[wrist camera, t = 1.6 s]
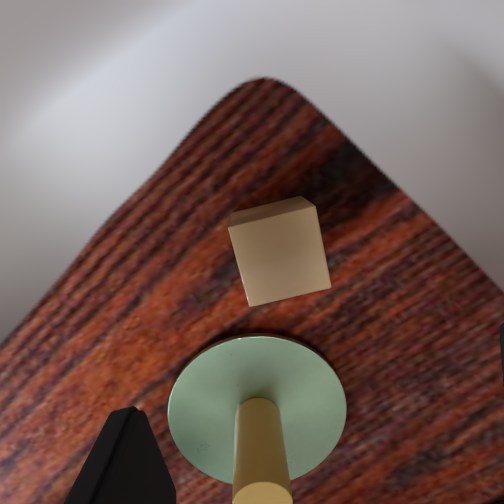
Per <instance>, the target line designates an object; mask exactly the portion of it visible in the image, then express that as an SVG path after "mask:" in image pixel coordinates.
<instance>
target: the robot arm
mask: <svg viewBox="0 0 504 504" xmlns="http://www.w3.org/2000/svg"><path fill="white" fill-rule="evenodd" d="M500 343H501V356H502V370H503V384H504V324H502V325H501V326H500ZM64 504H176V490H175V486H174V484H173V481H172V479H171V476H170V474H169V471H168V469H167V466H166V464H165V461H164V459H163V456H162V454H161V451H160V449H159V446H158V444H157V441H156V439H155V436H154V434H153V431H152V429H151V426H150V424H149V421H148V419H147V416H146V414H145V412H144V411H142V410H141V411H138V409H137V408H136V407H134V406H132V407H128V408H124V409H120V410H116V411H113V412H111V413H110V415H109V417H108V418H107V420H106V422H105V424H104V426H103V428H102V430H101V432H100V434H99V436H98V438H97V440H96V442H95V444H94V446H93V448H92V450H91V452H90V454H89V456H88V457H87V459H86V461H85V463H84V465H83V467H82V469H81V471H80V473H79V475H78V477H77V479H76V481H75V483H74V485H73V487H72V489H71V491H70V493H69V495H68V497H67V498H66V500H65V502H64Z"/></svg>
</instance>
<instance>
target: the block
mask: <svg viewBox="0 0 504 504" xmlns="http://www.w3.org/2000/svg"><path fill="white" fill-rule="evenodd" d="M228 230H229V234H230V237H231V241H232V245H233V248H234V252H235V256H236V260H237V263H238V267H239V271H240V274H241V278H242V282H243V286H244V289H245V293H246V297H247V300H248V304H249V307H252V306H256V305H260V304H265V303H269V302H273V301H277V300H281V299H286V298H290V297H294V296H298V295H303V294H307V293H311V292H315V291H319V290H324V289H328V288H331V282H330V277H329V272H328V267H327V261H326V256H325V251H324V246H323V241H322V236H321V231H320V226H319V221H318V216H317V211H316V206H315V205H313V204H312V203H310V202H309V201H308V200H306V199H305V198H303V197H302V196H298V197H293V198H289V199H285V200H281V201H277V202H273V203H269V204H265V205H261V206H257V207H253V208H249V209H245V210H241V211H237V212H233V213H231V216H230V221H229V226H228Z"/></svg>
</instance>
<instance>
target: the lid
mask: <svg viewBox="0 0 504 504" xmlns="http://www.w3.org/2000/svg"><path fill="white" fill-rule="evenodd" d="M346 408H347V406H346V398H345V393H344V390H343V387H342V384H341V382H340V380H339V378H338V376H337V374H336V372H335V371H334V369H333V368H332V366H331V365H330V364H329V363H328V362H327V360H326V359H325V358H324V357H323V356H321V355H320V354H319V353H318V352H317V351H316V350H314V349H312V348H311V347H309V346H308V345H306V344H304V343H302V342H300V341H297V340H295V339H292V338H289V337H286V336H282V335H276V334H270V333H247V334H242V335H236V336H232V337H229V338H226V339H223V340H220V341H218V342H216V343H214V344H212V345H210V346H208V347H207V348H205V349H203V350H202V351H201V352H199V353H198V354H197V355H195V356H194V357H193V358H192V359H191V360H190V361H189V362H188V363H187V364H186V365H185V367H184V368H183V369H182V371H181V372H180V373H179V375H178V377H177V379H176V381H175V383H174V385H173V388H172V391H171V394H170V398H169V403H168V423H169V428H170V431H171V435H172V437H173V440H174V442H175V444H176V446H177V447H178V449H179V450H180V452H181V453H182V454H183V456H184V457H185V458H186V459H187V460H188V461H189V462H190V463H191V464H192V465H193V466H195V467H196V468H197V469H199V470H200V471H202V472H203V473H205V474H207V475H209V476H210V477H212V478H215V479H217V480H220V481H222V482H226V483H230V484H233V497H232V504H293V498H292V492H291V485H290V480H293V479H295V478H298V477H300V476H302V475H304V474H306V473H308V472H309V471H311V470H312V469H314V468H315V467H316V466H318V465H319V464H320V463H321V462H322V461H323V460H324V459H325V458H326V457H327V456H328V455H329V454H330V453H331V452H332V450H333V449H334V447H335V446H336V444H337V443H338V441H339V439H340V437H341V434H342V432H343V429H344V425H345V420H346Z"/></svg>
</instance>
